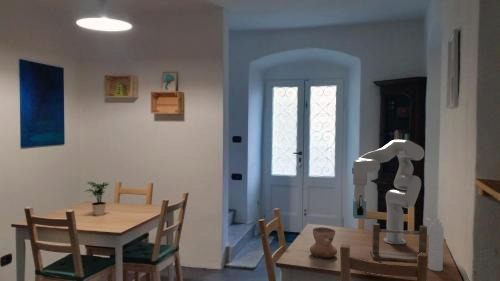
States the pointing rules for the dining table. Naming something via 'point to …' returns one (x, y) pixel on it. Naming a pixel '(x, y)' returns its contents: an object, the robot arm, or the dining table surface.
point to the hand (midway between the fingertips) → (359, 213)
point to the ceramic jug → (323, 243)
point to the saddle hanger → (355, 206)
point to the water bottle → (435, 245)
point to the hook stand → (396, 255)
